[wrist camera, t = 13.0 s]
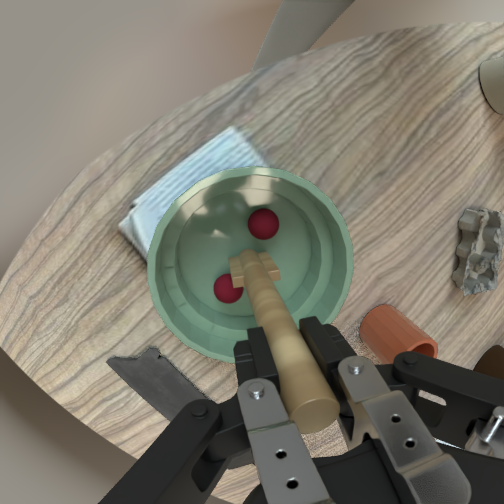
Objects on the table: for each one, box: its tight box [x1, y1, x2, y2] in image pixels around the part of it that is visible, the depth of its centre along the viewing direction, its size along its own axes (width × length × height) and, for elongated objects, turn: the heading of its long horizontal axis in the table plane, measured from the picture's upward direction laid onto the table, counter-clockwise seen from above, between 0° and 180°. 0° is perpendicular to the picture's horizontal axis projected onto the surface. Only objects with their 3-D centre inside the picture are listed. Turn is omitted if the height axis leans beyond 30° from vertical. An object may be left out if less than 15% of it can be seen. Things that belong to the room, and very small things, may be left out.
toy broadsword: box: [106, 348, 255, 470], centre depth 32 cm, size 7×35×2 cm, turn 33°
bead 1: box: [213, 274, 244, 304], centre depth 26 cm, size 3×3×3 cm
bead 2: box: [248, 208, 279, 240], centre depth 24 cm, size 3×3×3 cm
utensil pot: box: [359, 304, 438, 365], centre depth 27 cm, size 5×5×8 cm
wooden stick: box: [228, 249, 340, 434], centre depth 17 cm, size 2×3×18 cm, turn 97°
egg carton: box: [452, 209, 504, 296], centre depth 29 cm, size 11×8×4 cm
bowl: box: [147, 166, 353, 363], centre depth 24 cm, size 15×15×6 cm
